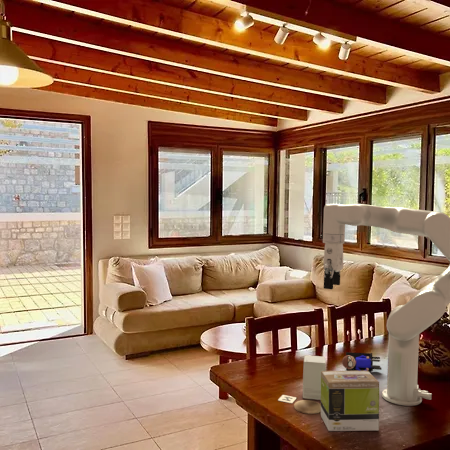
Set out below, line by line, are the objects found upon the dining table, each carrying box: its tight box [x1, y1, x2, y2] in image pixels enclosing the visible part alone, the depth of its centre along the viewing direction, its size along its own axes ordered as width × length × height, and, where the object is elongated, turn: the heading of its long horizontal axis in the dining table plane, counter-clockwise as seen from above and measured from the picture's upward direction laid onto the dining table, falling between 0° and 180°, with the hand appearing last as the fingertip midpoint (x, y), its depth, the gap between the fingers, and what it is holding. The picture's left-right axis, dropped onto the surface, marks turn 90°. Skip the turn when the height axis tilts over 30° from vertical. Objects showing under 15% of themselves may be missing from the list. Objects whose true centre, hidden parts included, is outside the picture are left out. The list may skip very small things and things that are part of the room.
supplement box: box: [302, 354, 327, 401], centre depth 163 cm, size 7×7×13 cm
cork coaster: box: [293, 399, 321, 415], centre depth 154 cm, size 9×9×1 cm
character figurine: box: [341, 351, 382, 372], centre depth 187 cm, size 8×7×15 cm
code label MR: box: [277, 394, 298, 404], centre depth 160 cm, size 5×5×1 cm
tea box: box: [320, 370, 380, 432], centre depth 142 cm, size 15×10×15 cm, turn 92°
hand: (331, 286), depth 170 cm, fingers open, 9 cm apart
